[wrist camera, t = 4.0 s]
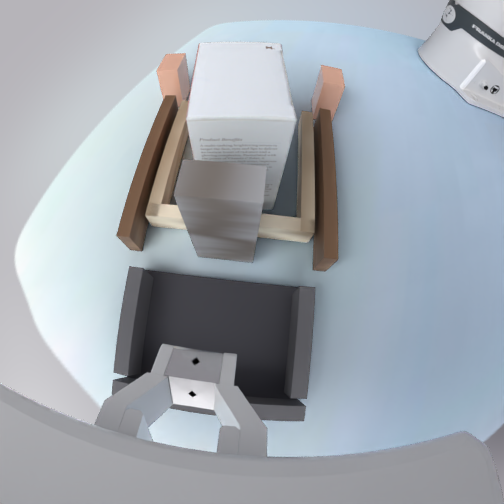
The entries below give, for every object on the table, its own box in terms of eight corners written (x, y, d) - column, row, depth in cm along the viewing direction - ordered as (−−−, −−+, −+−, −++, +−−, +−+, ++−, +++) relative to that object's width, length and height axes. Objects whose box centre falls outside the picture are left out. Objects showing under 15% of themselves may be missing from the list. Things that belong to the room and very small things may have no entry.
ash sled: (308, 126, 26) (330, 51, 17) (307, 268, 21) (350, 215, 13) (184, 115, 25) (171, 39, 17) (146, 250, 21) (97, 190, 12)
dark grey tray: (305, 289, 21) (315, 279, 18) (294, 411, 18) (303, 421, 15) (144, 270, 21) (131, 259, 18) (128, 389, 18) (111, 394, 15)
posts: (329, 103, 27) (341, 69, 23) (331, 122, 26) (345, 86, 22) (172, 89, 27) (166, 54, 22) (165, 107, 26) (156, 70, 21)
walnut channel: (322, 131, 26) (330, 110, 23) (325, 271, 21) (338, 259, 19) (170, 116, 26) (165, 95, 23) (130, 249, 21) (116, 235, 18)
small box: (207, 136, 25) (197, 40, 15) (268, 135, 25) (282, 40, 15) (202, 213, 23) (182, 118, 13) (274, 212, 23) (298, 118, 13)
